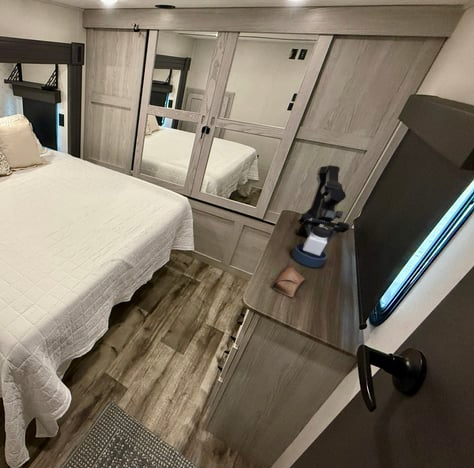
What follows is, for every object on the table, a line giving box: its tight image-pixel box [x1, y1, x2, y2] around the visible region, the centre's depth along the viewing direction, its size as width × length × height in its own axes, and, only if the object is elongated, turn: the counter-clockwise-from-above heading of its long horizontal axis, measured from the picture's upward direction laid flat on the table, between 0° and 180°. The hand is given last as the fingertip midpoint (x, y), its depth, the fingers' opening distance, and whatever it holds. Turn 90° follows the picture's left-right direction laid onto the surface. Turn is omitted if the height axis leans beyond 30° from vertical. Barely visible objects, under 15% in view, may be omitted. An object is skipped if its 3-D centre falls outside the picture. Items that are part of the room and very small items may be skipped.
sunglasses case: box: [272, 265, 306, 298], centre depth 118 cm, size 18×7×7 cm
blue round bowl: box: [290, 242, 328, 268], centre depth 134 cm, size 13×13×5 cm
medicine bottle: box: [303, 225, 331, 256], centre depth 129 cm, size 7×7×12 cm
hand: (318, 239), depth 128 cm, fingers closed on medicine bottle, 7 cm apart
